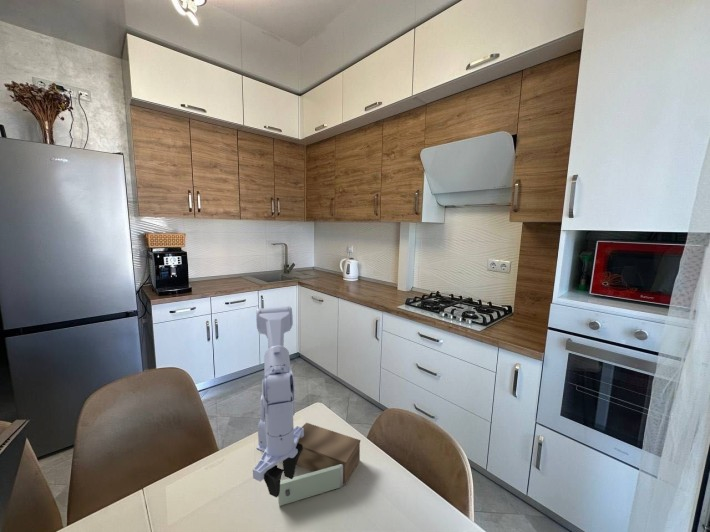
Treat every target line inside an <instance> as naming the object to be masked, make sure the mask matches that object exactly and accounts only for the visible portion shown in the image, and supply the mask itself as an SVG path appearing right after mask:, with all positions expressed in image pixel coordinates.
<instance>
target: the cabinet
mask: <svg viewBox="0 0 710 532" xmlns="http://www.w3.org/2000/svg"><path fill="white" fill-rule="evenodd" d="M301 428H304V436H303V437H302V438H299V440H298V443H299V444H302V445H303V450H302V452H301V454H300V456H299V458H298V461H297V465H296V466H298V467H301V468H303V469H306V470H308V471H310V472H314V471H318V470H322V469H325V468H329V467H332V466H336V465H339V464H342V465H343V485H345V486H346V484H347V483H348V481H349V479H350V478H351V476H352V474H353V473H354V471H355V470H356V467H357V466H358V465H359V463H360V462H361V461H360V459H361V458H360V457H361V455H360V454H361V451H360V450H361V448H360V447H361V444H360V443H361V439H359V438H355V437H352V436H349V435H346V434H342V433H340V432H337V431H334V430H331V429H327V428H324V427H321V426H318V425H314V424H311V423H309V422H305V423H304V424H303V425H302V426H301Z"/></svg>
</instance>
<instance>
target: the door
mask: <svg viewBox="0 0 710 532" xmlns="http://www.w3.org/2000/svg"><path fill="white" fill-rule="evenodd" d="M343 487H344V484H343V465H342V464H339V465H336V466H332V467H329V468H325V469H322V470H318V471H314V472H312V471H310V472H308V473H304V474H301V475H297V476H294V477H293V479H290V478H286V479H283V480H282V479H281V480H280V493H279V496H278V497H277V498H278V502H277V503H278V507H280V506H284V505H288V504H291V503H295V502H297V501H300V500H303V499H307V498H309V497H313V496H316V495H320V494H323V493H326V492H330V491H332V490H333V491H334V490H335V489H339V488H343Z"/></svg>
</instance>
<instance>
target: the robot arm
mask: <svg viewBox="0 0 710 532" xmlns="http://www.w3.org/2000/svg"><path fill="white" fill-rule="evenodd" d="M255 314H256V316H255V317H256V329H257V332H258V334H260V335H265V337H266V338H267V345H268V349H267V350H266V351H265V352H264V355H263V357H264V363H263V364H264V366H263V367H264V370H263V371H264V378H262V380H261V381H262V383H261V387H262V389H261V391H262V393H261V395H260V420H259V422H258V424H257V437H258V438H257V439H258V445H257V446H256V449H257V450H259V451H262V452H263V453H262V454H261V457H260V458H259V461H257V464H256V465H255V467H253V468H252V479H254V480H256V481H259V482H262V481H264V482H265V484H266V488H267V489H268V490H267V491H268V494H269V495H270V496H272V497H274V498H278V496H279V493H280V481H282V476H284V477H286V479H289V478H290V479H293V477H295V473H296V469H297V466H298V465H297V461H298V458H299V456H300V454H301V452H302V450H303V445H302V444H299V443H298V440H299V438H302V437H303V436H304V428H301V427H302V426H301V427H300V426H296V427H294V416H295V413H296V412H295V411H296V410H295V409H296V407H295V398H296V397H295V396H296V386H295V385H296V384H295V377H294V373H293V369H292V367H291V359H290V352H289V350H288V348H286V347H285V345H284V342H285V339H284V338H285V333H289V332H290V331H291V329H292V327H293V325H294V324H293V323H294V321H293V316H294V315H293V309H292V307H291V306H290V305H288V306H278V307H266V308H265V307H263V308H261V307H258V308H257V310H256V312H255ZM280 463H282V468H280V467H278V464H280Z"/></svg>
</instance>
